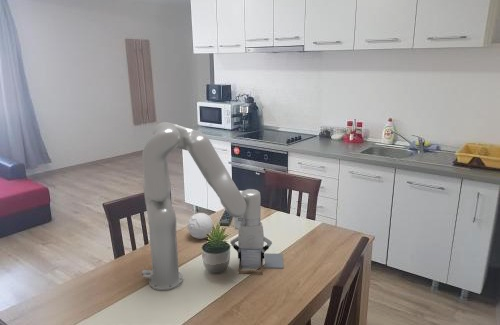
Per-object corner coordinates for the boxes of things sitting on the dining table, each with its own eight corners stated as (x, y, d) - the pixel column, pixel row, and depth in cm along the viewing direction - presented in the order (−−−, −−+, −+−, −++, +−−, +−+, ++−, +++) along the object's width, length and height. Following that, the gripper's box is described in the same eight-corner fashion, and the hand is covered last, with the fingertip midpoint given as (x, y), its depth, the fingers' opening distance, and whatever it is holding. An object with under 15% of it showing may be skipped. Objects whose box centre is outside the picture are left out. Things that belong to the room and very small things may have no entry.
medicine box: (260, 262, 154) (260, 244, 152) (260, 268, 150) (260, 249, 147) (241, 262, 154) (241, 243, 152) (241, 268, 150) (240, 248, 148)
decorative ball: (183, 236, 177) (182, 213, 174) (204, 229, 185) (203, 207, 181) (196, 245, 168) (195, 221, 165) (218, 237, 176) (217, 214, 173)
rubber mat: (264, 268, 150) (264, 267, 150) (264, 254, 160) (264, 253, 160) (283, 268, 149) (283, 267, 149) (282, 254, 160) (282, 253, 160)
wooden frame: (238, 274, 146) (238, 271, 145) (240, 256, 159) (240, 253, 158) (262, 274, 145) (262, 271, 145) (262, 257, 158) (262, 254, 158)
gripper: (228, 224, 143) (229, 264, 148) (273, 224, 143) (272, 265, 147) (229, 216, 151) (230, 255, 155) (272, 216, 150) (272, 255, 155)
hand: (251, 259), depth 151 cm, fingers closed on medicine box, 8 cm apart
